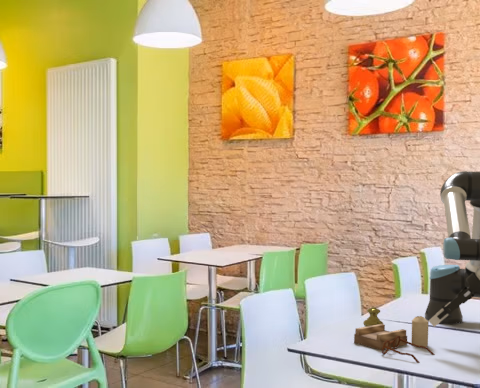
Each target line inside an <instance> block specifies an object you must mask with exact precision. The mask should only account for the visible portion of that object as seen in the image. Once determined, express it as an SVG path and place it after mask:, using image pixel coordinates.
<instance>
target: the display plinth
mask: <svg viewBox="0 0 480 388" xmlns="http://www.w3.org/2000/svg"><path fill="white" fill-rule="evenodd" d="M385 326H386V324H384V323H383V324H378V325H373V326H367V327H364V326H361V327H357V328H355V333H354V335H353V338H354V339H353V341H354V343H355V344H358V345H362V346H366V347H368V348H372V349H375V350H379V351H382V348H383V345H384V343H385V341H387V340H389V341H390V342H391V341H394V340H395V338H396V337H397V336H400V339H403V340H405V341H408V335H407V329H405V328H404V329H397V330H393V331H389V330H385ZM398 341H399V338H397V340H396V342H395V347H396V346H397V344H398ZM406 345H408V344H407V343H405V342H402V341H400V343H399V346H398V347H402V346H406ZM385 346H387V347H388V342H387V343H386V344H385ZM389 347H390V348H392V349H393V343H391V344H390V346H389ZM384 350H387V348H384Z"/></svg>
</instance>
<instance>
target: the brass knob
mask: <svg viewBox="0 0 480 388" xmlns="http://www.w3.org/2000/svg"><path fill="white" fill-rule="evenodd" d="M366 312H367V313H368V314H369V317H368V318H366V319H365V320H363V323H362V324H363V325H364V326H363V327H367V326H373V325H378V324H384V322H383V321H382V320H381V319H380V318H379V317H378V315H379V314H380V313H381V309H379V308H377V307H376V306H371V307H370V308H369V307H368V309H366Z"/></svg>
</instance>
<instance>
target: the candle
mask: <svg viewBox="0 0 480 388" xmlns="http://www.w3.org/2000/svg"><path fill="white" fill-rule="evenodd" d="M410 343H413V344H415V345H418V346H424V347H427V348H428V345H429V321H428V320H426V319H425V316H422V315H419V316H414V318H413V319H412V320H411V342H410Z"/></svg>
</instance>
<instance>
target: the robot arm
mask: <svg viewBox="0 0 480 388" xmlns="http://www.w3.org/2000/svg"><path fill="white" fill-rule="evenodd" d="M439 195H440V200H441V203H442V204H443V206H444V213H445V221H446V231H447V237H445V238H444V239H443V243H442V250H443V251H442V252H443V253H442V254H443V257H444V259H448V260H453V261H468V262H466V263H465V268H461V267H460V265H458V264H440V265H434V266H433V267H432V268H430V273H429V274H430V275H429V301H428V304H427V307H426V309H425V313H424V318H425V319H426V320H427V321H428V323H430V324H431V325H432V326H433V327H434V328H435V327H436V326H437V325H439V324H447V325H449V324H450V325H456V324H461V323H463V320H464V317H463V314H462V313H463V312H462V310H461V307H460V306H461V305H463V304H465V303H467V301H468V300H471V299H472V298H475V299H476V298H477V299H480V171H466V170H465V171H458V172H456V173H453V174H452V175H450V176H449V177H448V178H447V179H446V180H445V181H444V182H443V184H442V185H441V187H440V193H439ZM466 201H468V202H469V204H470V206H471V207H472V208H473V215H472V229H471V230H470V225H469V218H468V213H467V207H466Z"/></svg>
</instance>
